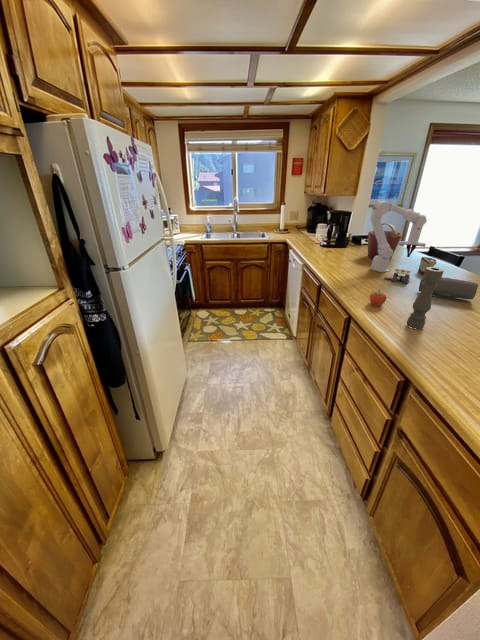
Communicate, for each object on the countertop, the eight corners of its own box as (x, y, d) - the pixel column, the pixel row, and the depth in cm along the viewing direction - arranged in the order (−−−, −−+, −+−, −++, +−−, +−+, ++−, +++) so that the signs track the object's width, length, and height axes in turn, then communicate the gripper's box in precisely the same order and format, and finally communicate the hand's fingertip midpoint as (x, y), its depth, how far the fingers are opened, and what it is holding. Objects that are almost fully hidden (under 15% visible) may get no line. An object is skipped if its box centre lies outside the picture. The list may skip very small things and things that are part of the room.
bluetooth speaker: (468, 297, 136) (476, 279, 131) (471, 304, 129) (480, 285, 124) (417, 289, 146) (423, 272, 142) (417, 295, 139) (423, 277, 135)
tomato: (383, 309, 125) (387, 294, 122) (366, 306, 129) (370, 290, 125) (385, 303, 131) (389, 288, 127) (369, 300, 134) (372, 286, 131)
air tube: (384, 279, 162) (385, 274, 160) (384, 277, 164) (386, 272, 163) (408, 282, 156) (410, 277, 154) (408, 281, 158) (410, 276, 156)
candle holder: (402, 323, 114) (421, 266, 102) (416, 322, 114) (436, 266, 102) (412, 330, 108) (433, 272, 96) (426, 329, 109) (449, 271, 97)
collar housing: (391, 281, 158) (394, 272, 155) (393, 277, 164) (395, 268, 161) (406, 284, 154) (410, 274, 151) (407, 279, 160) (410, 270, 157)
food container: (435, 278, 162) (441, 262, 157) (424, 277, 163) (429, 262, 158) (427, 272, 173) (432, 257, 168) (416, 271, 174) (421, 256, 169)
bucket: (361, 253, 216) (367, 221, 204) (389, 253, 213) (398, 221, 201) (369, 261, 195) (377, 226, 183) (401, 262, 192) (411, 226, 180)
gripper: (400, 235, 165) (395, 256, 172) (428, 237, 158) (421, 259, 165) (401, 233, 170) (396, 254, 177) (428, 235, 163) (421, 257, 170)
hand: (408, 256), depth 171 cm, fingers closed
